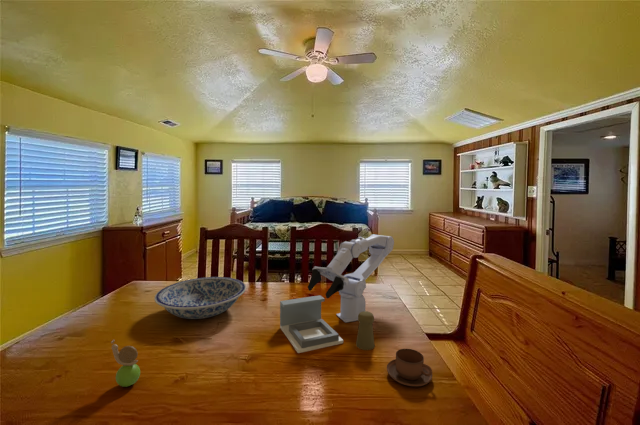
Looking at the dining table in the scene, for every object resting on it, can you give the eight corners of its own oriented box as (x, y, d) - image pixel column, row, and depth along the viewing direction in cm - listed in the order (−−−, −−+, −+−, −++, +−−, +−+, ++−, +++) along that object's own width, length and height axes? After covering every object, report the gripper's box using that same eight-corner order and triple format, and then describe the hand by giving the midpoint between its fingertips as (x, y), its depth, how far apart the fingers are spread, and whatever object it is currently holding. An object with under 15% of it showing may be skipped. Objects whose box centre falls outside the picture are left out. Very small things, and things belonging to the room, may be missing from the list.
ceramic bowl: (134, 322, 117) (133, 296, 116) (200, 293, 148) (200, 273, 147) (205, 340, 104) (205, 311, 103) (262, 304, 135) (262, 282, 135)
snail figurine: (119, 378, 82) (117, 335, 82) (144, 377, 83) (143, 334, 82) (107, 392, 77) (105, 345, 76) (134, 391, 78) (132, 345, 77)
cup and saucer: (431, 369, 89) (432, 348, 88) (432, 395, 77) (433, 372, 77) (389, 361, 93) (389, 341, 92) (383, 385, 81) (384, 362, 81)
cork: (374, 351, 98) (375, 317, 97) (355, 348, 99) (355, 315, 98) (374, 341, 104) (375, 310, 103) (356, 339, 105) (357, 308, 104)
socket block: (319, 320, 120) (320, 295, 119) (343, 343, 103) (343, 313, 102) (280, 327, 113) (280, 301, 113) (297, 353, 96) (298, 322, 95)
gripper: (319, 252, 116) (298, 278, 108) (353, 263, 109) (333, 292, 100) (323, 265, 121) (303, 291, 112) (356, 277, 113) (336, 305, 105)
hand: (317, 292), depth 107 cm, fingers open, 7 cm apart
